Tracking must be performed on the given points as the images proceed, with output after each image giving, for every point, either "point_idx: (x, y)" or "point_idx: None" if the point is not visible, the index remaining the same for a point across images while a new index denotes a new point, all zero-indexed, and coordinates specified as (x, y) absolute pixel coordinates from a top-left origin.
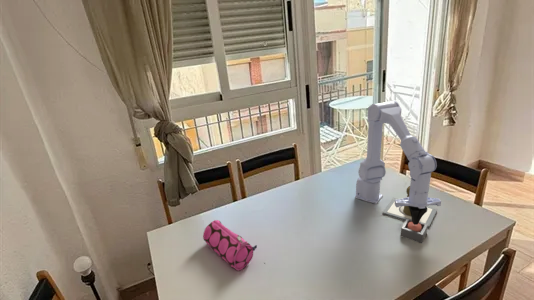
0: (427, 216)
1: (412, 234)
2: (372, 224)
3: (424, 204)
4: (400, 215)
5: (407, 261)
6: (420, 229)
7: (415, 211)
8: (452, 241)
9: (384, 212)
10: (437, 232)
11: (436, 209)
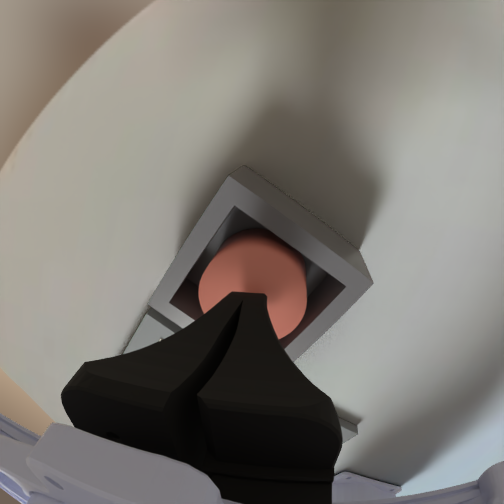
0: None
1: (299, 216)
2: (451, 358)
3: (54, 499)
4: None
5: (401, 8)
6: (219, 253)
7: (278, 404)
8: (70, 183)
9: (348, 432)
10: (117, 264)
11: None
